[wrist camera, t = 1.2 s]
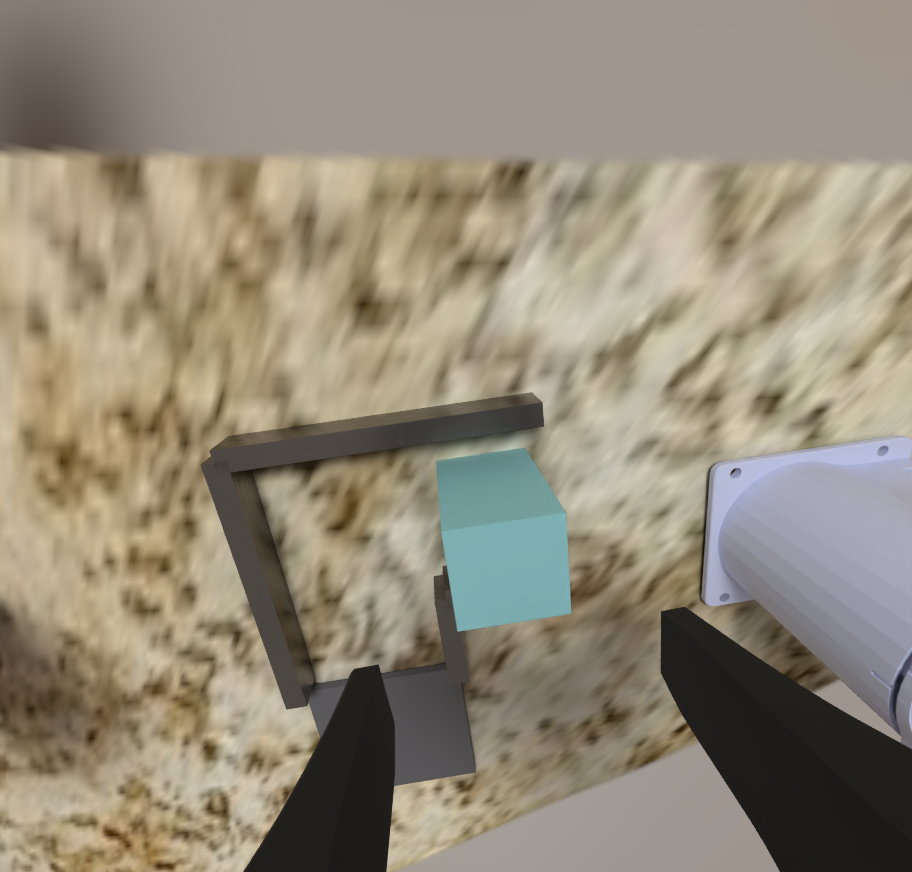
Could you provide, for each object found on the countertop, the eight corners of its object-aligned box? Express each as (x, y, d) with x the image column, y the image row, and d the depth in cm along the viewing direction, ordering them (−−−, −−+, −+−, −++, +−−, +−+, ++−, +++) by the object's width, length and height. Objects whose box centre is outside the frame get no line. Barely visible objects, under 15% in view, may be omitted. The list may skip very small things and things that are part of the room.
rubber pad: (457, 661, 23) (458, 667, 23) (474, 765, 26) (475, 772, 25) (307, 685, 23) (305, 692, 22) (340, 787, 25) (338, 795, 25)
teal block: (524, 447, 19) (565, 512, 14) (531, 525, 21) (571, 613, 15) (436, 460, 19) (441, 531, 14) (448, 537, 21) (457, 631, 15)
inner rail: (542, 548, 21) (554, 574, 20) (549, 636, 23) (560, 667, 21) (432, 565, 21) (433, 592, 19) (447, 652, 23) (449, 685, 21)
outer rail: (530, 391, 19) (542, 402, 17) (548, 634, 23) (559, 665, 21) (219, 436, 19) (196, 452, 17) (297, 674, 23) (286, 709, 21)
